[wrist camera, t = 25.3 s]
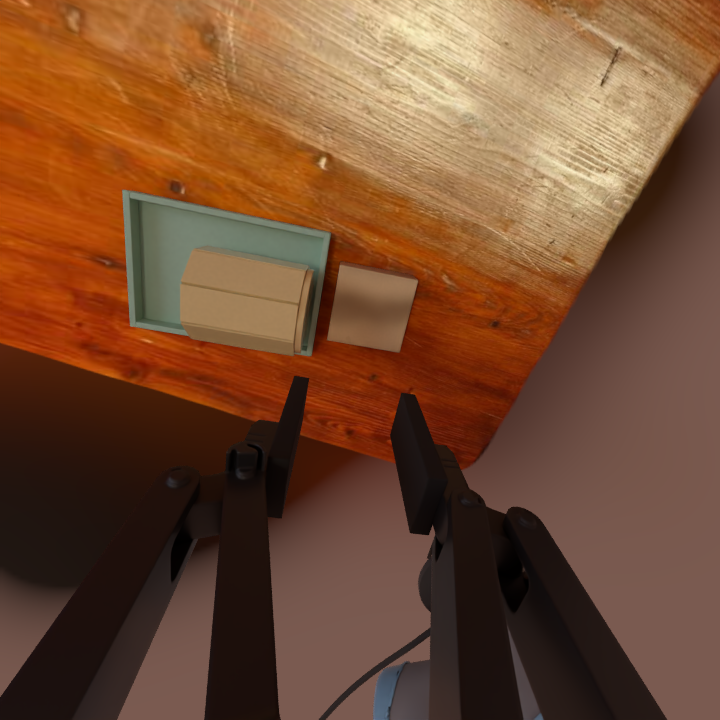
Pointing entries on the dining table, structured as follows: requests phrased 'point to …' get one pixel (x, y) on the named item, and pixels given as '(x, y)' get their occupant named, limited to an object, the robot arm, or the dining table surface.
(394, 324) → the block
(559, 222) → the dining table surface
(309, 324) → the tray
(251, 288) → the cup
